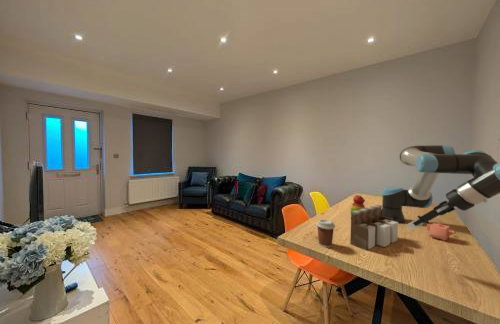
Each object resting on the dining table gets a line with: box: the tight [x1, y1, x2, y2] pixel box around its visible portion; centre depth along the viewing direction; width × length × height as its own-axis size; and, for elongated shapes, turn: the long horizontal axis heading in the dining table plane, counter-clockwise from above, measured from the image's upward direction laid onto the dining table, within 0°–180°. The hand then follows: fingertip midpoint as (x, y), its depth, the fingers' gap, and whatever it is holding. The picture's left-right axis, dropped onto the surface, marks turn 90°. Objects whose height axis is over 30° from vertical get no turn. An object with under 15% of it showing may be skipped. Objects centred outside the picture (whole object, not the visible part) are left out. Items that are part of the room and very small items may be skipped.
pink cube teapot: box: [426, 222, 457, 242], centre depth 113 cm, size 8×12×8 cm, turn 36°
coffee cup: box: [315, 219, 336, 248], centre depth 105 cm, size 9×9×12 cm
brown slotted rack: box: [349, 204, 393, 251], centre depth 109 cm, size 28×8×17 cm, turn 123°
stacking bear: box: [350, 194, 366, 213], centre depth 143 cm, size 11×10×18 cm
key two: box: [374, 222, 391, 248], centre depth 106 cm, size 6×6×10 cm
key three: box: [360, 223, 376, 250], centre depth 103 cm, size 6×6×10 cm
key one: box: [382, 219, 399, 244], centre depth 110 cm, size 6×6×10 cm
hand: (408, 227), depth 88 cm, fingers closed
